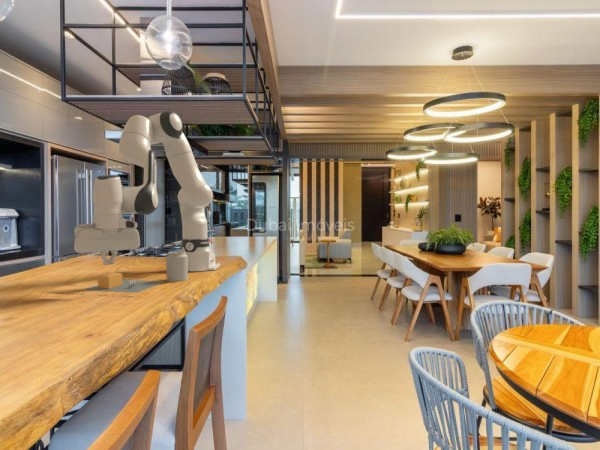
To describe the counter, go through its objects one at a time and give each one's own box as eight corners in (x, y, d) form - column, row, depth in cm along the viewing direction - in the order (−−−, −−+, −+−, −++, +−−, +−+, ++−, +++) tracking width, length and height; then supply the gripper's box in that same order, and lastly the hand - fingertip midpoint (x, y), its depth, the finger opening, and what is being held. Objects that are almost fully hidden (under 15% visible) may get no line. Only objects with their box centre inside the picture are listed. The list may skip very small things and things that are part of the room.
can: (184, 285, 140) (183, 252, 139) (163, 285, 140) (163, 252, 140) (190, 281, 147) (190, 250, 147) (170, 281, 148) (170, 250, 147)
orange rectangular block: (112, 284, 134) (111, 272, 134) (122, 285, 133) (122, 273, 133) (98, 287, 128) (98, 275, 128) (109, 288, 127) (108, 276, 127)
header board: (117, 283, 144) (117, 272, 144) (167, 285, 141) (167, 274, 140) (80, 294, 125) (80, 282, 125) (137, 297, 122) (136, 284, 122)
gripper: (77, 224, 120) (78, 268, 120) (141, 222, 135) (142, 262, 136) (70, 223, 124) (71, 266, 125) (133, 222, 139) (133, 260, 140)
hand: (108, 264), depth 130 cm, fingers closed
